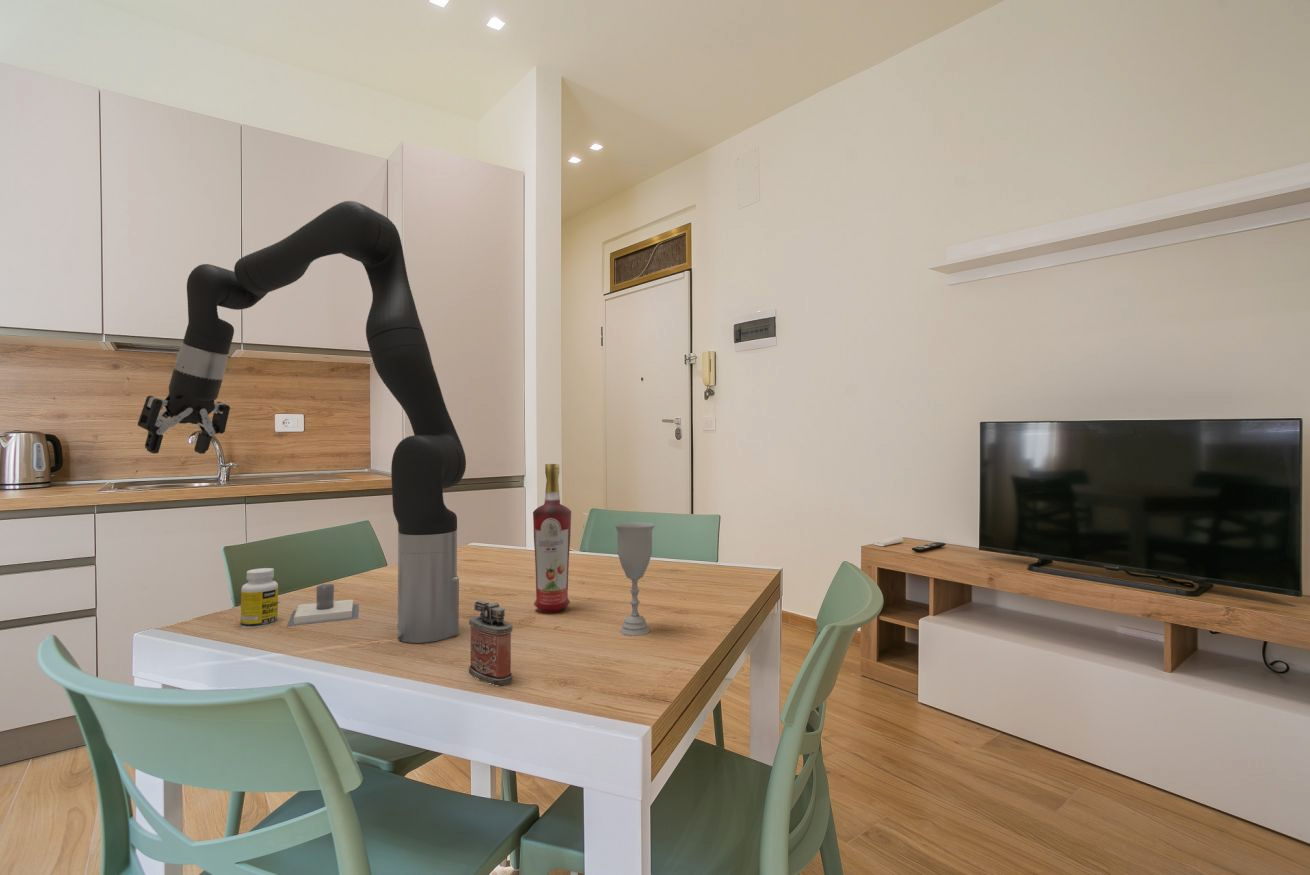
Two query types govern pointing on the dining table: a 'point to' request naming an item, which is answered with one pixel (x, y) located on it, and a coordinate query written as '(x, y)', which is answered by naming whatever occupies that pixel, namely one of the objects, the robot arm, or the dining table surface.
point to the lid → (324, 607)
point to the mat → (354, 616)
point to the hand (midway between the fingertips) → (176, 452)
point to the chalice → (634, 567)
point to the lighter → (490, 644)
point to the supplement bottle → (259, 599)
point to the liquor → (552, 547)
